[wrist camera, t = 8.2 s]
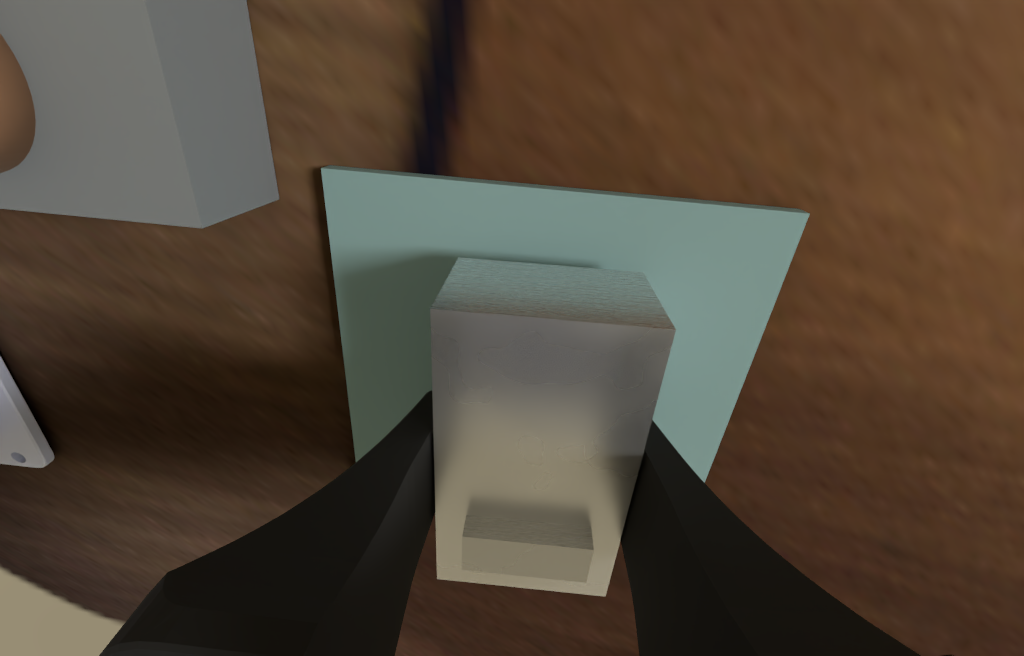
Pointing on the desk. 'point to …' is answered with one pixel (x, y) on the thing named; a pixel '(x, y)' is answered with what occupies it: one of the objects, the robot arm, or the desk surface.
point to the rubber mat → (552, 241)
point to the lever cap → (540, 419)
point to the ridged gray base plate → (132, 111)
